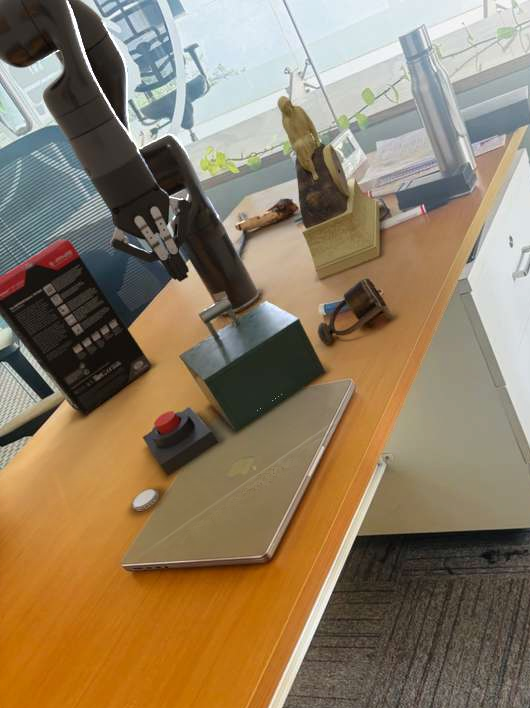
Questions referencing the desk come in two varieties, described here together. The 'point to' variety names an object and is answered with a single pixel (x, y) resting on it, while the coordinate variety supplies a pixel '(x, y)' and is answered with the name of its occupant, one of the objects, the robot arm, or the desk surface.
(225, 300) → the lid
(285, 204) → the bone fish hook
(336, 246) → the decorative clock
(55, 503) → the desk surface
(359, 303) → the brown handled cylinder
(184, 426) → the switch block
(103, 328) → the graphics card box
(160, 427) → the button
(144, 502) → the bottle cap
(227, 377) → the dark green open box
